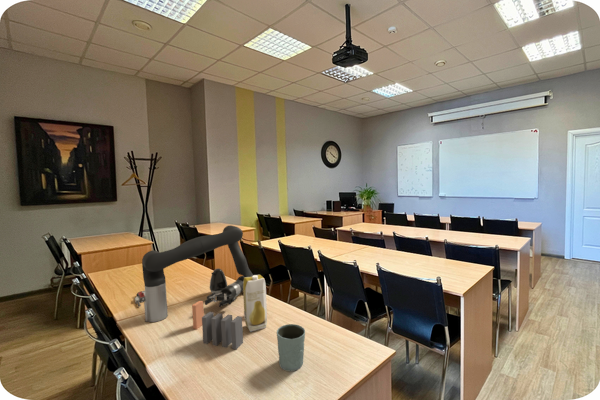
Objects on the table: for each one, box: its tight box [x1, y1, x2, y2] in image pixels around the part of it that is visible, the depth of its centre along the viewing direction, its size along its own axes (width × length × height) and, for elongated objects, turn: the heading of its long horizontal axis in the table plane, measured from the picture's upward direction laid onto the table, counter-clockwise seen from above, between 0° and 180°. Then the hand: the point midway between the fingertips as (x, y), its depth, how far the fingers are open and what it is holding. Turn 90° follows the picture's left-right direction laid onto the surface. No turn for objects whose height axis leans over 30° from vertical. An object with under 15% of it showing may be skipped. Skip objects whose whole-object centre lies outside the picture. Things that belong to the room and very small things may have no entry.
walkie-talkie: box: [134, 290, 146, 308], centre depth 160 cm, size 9×4×20 cm
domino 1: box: [191, 300, 205, 330], centre depth 128 cm, size 2×5×11 cm, turn 160°
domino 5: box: [231, 315, 244, 351], centre depth 112 cm, size 2×5×11 cm, turn 160°
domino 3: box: [211, 312, 224, 347], centre depth 115 cm, size 2×5×11 cm, turn 161°
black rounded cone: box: [209, 268, 228, 294], centre depth 166 cm, size 10×10×15 cm
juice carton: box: [242, 274, 268, 333], centre depth 125 cm, size 9×8×24 cm
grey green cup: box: [276, 323, 306, 372], centre depth 100 cm, size 10×10×12 cm
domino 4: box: [221, 314, 233, 349], centre depth 113 cm, size 2×5×11 cm, turn 160°
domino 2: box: [201, 311, 215, 345], centre depth 116 cm, size 2×5×11 cm, turn 160°
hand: (212, 304), depth 138 cm, fingers open, 8 cm apart
